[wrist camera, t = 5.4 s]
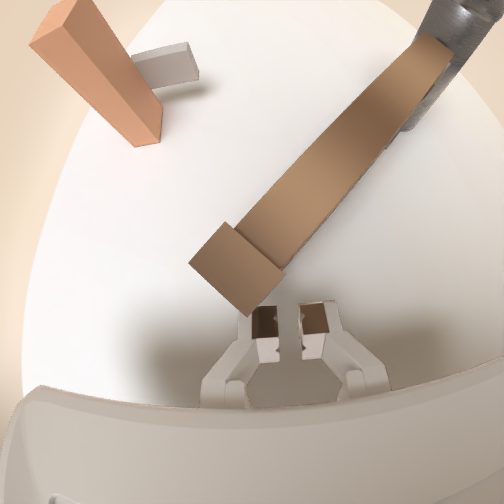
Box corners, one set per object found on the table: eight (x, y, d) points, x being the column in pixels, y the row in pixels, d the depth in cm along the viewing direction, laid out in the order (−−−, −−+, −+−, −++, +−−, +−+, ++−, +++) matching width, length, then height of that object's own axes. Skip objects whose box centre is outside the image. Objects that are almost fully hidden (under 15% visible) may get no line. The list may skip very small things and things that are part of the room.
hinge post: (410, 98, 17) (490, -31, 4) (421, 134, 17) (527, 8, 3) (373, 94, 18) (438, -57, 4) (383, 131, 17) (476, -23, 4)
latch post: (206, 92, 19) (154, -43, 7) (205, 135, 18) (135, -6, 6) (140, 104, 19) (58, -2, 7) (134, 147, 19) (28, 45, 7)
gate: (376, 116, 17) (427, 20, 8) (398, 135, 17) (464, 48, 7) (236, 273, 17) (188, 262, 7) (263, 296, 16) (247, 317, 7)
